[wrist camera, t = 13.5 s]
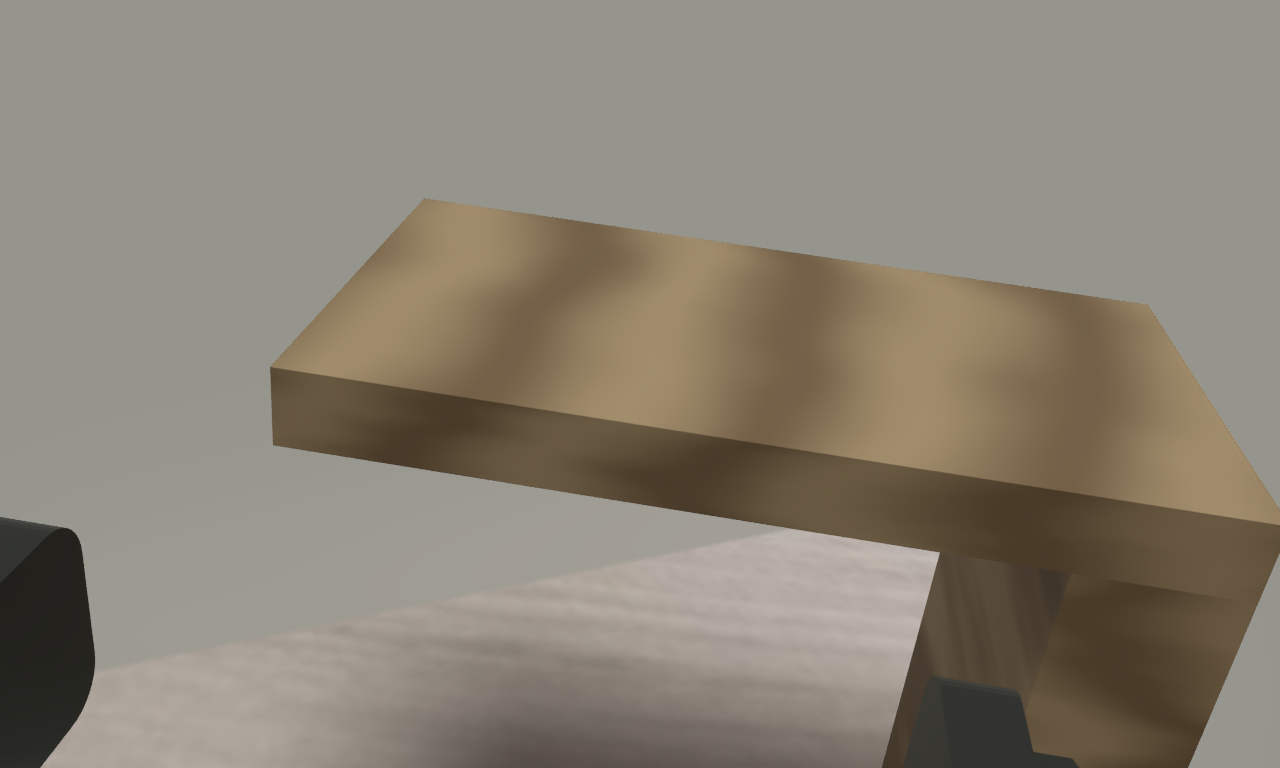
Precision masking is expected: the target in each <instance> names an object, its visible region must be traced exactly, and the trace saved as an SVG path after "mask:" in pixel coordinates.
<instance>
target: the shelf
mask: <svg viewBox="0 0 1280 768" xmlns="http://www.w3.org/2000/svg"><path fill="white" fill-rule="evenodd" d="M270 373H271V400H272V428H273V445H275V446H281V447H288V448H294V449H300V450H306V451H313V452H319V453H325V454H331V455H338V456H344V457H350V458H356V459H363V460H368V461H375V462H381V463H388V464H393V465H400V466H406V467H412V468H419V469H425V470H431V471H437V472H443V473H449V474H456V475H462V476H468V477H474V478H480V479H487V480H493V481H500V482H506V483H512V484H518V485H524V486H530V487H537V488H543V489H549V490H555V491H561V492H568V493H574V494H580V495H586V496H593V497H599V498H605V499H611V500H617V501H623V502H630V503H636V504H642V505H648V506H655V507H661V508H667V509H673V510H679V511H686V512H692V513H698V514H704V515H711V516H717V517H723V518H730V519H736V520H742V521H748V522H754V523H760V524H767V525H773V526H779V527H786V528H791V529H798V530H804V531H810V532H816V533H823V534H829V535H835V536H841V537H847V538H854V539H860V540H866V541H872V542H879V543H885V544H891V545H897V546H903V547H910V548H916V549H922V550H928V551H934V552H940V555H939V558H938V562H937V566H936V570H935V573H934V577H933V581H932V584H931V588H930V592H929V595H928V599H927V603H926V607H925V610H924V614H923V618H922V621H921V625H920V629H919V632H918V636H917V640H916V644H915V647H914V651H913V655H912V658H911V662H910V666H909V669H908V673H907V677H906V681H905V684H904V688H903V692H902V695H901V699H900V703H899V707H898V710H897V714H896V718H895V721H894V725H893V729H892V732H891V736H890V740H889V744H888V747H887V751H886V755H885V758H884V762H883V766H882V768H903V765H904V761H905V758H906V754H907V751H908V747H909V743H910V740H911V736H912V733H913V729H914V726H915V722H916V718H917V715H918V711H919V708H920V704H921V701H922V697H923V694H924V691H925V688H926V685H927V683H928V681H929V679H930V678H931V677H932V676H938V677H944V678H950V679H956V680H962V681H968V682H974V683H980V684H986V685H992V686H998V687H1004V688H1010V689H1014V690H1016V691H1017V692H1018V693H1019V695H1020V697H1021V701H1022V704H1023V709H1024V713H1025V717H1026V722H1027V726H1028V730H1029V735H1030V739H1031V743H1032V748H1033V752H1037V753H1043V754H1049V755H1055V756H1061V757H1067V758H1072V759H1073V760H1074V761H1075V763H1076V764H1077V765H1078V767H1079V768H1188V766H1189V764H1190V762H1191V759H1192V757H1193V755H1194V752H1195V750H1196V748H1197V745H1198V743H1199V741H1200V738H1201V736H1202V734H1203V731H1204V729H1205V727H1206V724H1207V722H1208V720H1209V717H1210V715H1211V713H1212V710H1213V708H1214V705H1215V703H1216V701H1217V698H1218V696H1219V694H1220V692H1221V689H1222V687H1223V684H1224V682H1225V680H1226V677H1227V675H1228V673H1229V670H1230V668H1231V666H1232V663H1233V661H1234V658H1235V656H1236V654H1237V652H1238V649H1239V647H1240V645H1241V642H1242V640H1243V637H1244V635H1245V633H1246V631H1247V628H1248V626H1249V623H1250V621H1251V619H1252V616H1253V614H1254V612H1255V609H1256V607H1257V605H1258V602H1259V600H1260V598H1261V595H1262V593H1263V591H1264V588H1265V586H1266V584H1267V581H1268V579H1269V576H1270V574H1271V572H1272V570H1273V567H1274V565H1275V562H1276V560H1277V558H1278V555H1279V553H1280V509H1279V508H1278V506H1277V505H1276V503H1275V502H1274V500H1273V498H1272V497H1271V495H1270V494H1269V492H1268V491H1267V489H1266V488H1265V486H1264V485H1263V483H1262V481H1261V480H1260V478H1259V477H1258V475H1257V474H1256V472H1255V471H1254V469H1253V468H1252V466H1251V464H1250V463H1249V461H1248V460H1247V458H1246V457H1245V455H1244V454H1243V452H1242V450H1241V449H1240V447H1239V446H1238V444H1237V443H1236V441H1235V439H1234V438H1233V437H1232V435H1231V433H1230V432H1229V430H1228V428H1227V427H1226V425H1225V424H1224V422H1223V421H1222V419H1221V418H1220V416H1219V414H1218V413H1217V411H1216V410H1215V408H1214V407H1213V405H1212V404H1211V402H1210V400H1209V399H1208V398H1207V396H1206V394H1205V393H1204V391H1203V390H1202V388H1201V387H1200V385H1199V384H1198V382H1197V380H1196V379H1195V377H1194V376H1193V374H1192V372H1191V371H1190V370H1189V368H1188V366H1187V365H1186V363H1185V362H1184V360H1183V358H1182V357H1181V355H1180V354H1179V352H1178V351H1177V349H1176V348H1175V346H1174V345H1173V343H1172V341H1171V340H1170V338H1169V337H1168V335H1167V334H1166V332H1165V330H1164V329H1163V327H1162V326H1161V324H1160V323H1159V321H1158V320H1157V318H1156V316H1155V315H1154V313H1153V312H1152V310H1151V309H1150V307H1149V306H1148V305H1146V304H1139V303H1132V302H1125V301H1119V300H1111V299H1105V298H1098V297H1091V296H1085V295H1078V294H1071V293H1064V292H1057V291H1051V290H1044V289H1037V288H1030V287H1024V286H1017V285H1010V284H1003V283H996V282H989V281H983V280H976V279H969V278H962V277H955V276H948V275H941V274H934V273H928V272H921V271H914V270H908V269H900V268H893V267H887V266H880V265H874V264H866V263H859V262H853V261H846V260H839V259H832V258H826V257H819V256H812V255H805V254H799V253H791V252H785V251H778V250H771V249H765V248H758V247H751V246H743V245H737V244H730V243H723V242H717V241H710V240H703V239H696V238H689V237H683V236H675V235H669V234H662V233H655V232H649V231H642V230H634V229H628V228H621V227H615V226H608V225H601V224H594V223H587V222H580V221H573V220H567V219H560V218H553V217H546V216H539V215H533V214H525V213H519V212H512V211H505V210H498V209H491V208H485V207H478V206H471V205H465V204H457V203H450V202H444V201H437V200H430V199H423V200H422V202H421V203H420V204H419V205H418V206H417V207H416V208H415V209H414V210H413V211H412V212H411V214H410V215H409V216H408V217H407V218H406V219H405V220H404V221H403V222H402V224H401V225H400V226H399V227H398V228H397V229H396V230H395V231H394V232H393V233H392V234H391V235H390V237H389V238H388V239H387V240H386V241H385V242H384V243H383V244H382V246H380V247H379V249H378V250H377V251H376V252H375V253H374V254H373V255H372V256H371V258H369V260H368V261H367V262H366V263H365V264H364V265H363V266H362V267H361V268H360V269H359V271H358V272H357V273H356V274H355V275H354V276H353V277H352V278H351V279H350V280H349V281H348V283H347V284H346V285H345V286H344V287H343V288H342V289H341V290H340V291H339V292H338V294H337V295H336V296H335V297H334V298H333V299H332V300H331V301H330V302H329V303H328V304H327V305H326V307H325V308H324V309H323V310H322V311H321V312H320V313H319V314H318V315H317V316H316V317H315V319H314V320H313V321H312V322H311V323H310V324H309V325H308V326H307V327H306V328H305V330H304V331H303V332H302V333H301V334H300V335H299V336H298V337H297V338H296V339H295V341H294V342H293V343H292V344H291V345H290V346H289V347H288V348H287V349H286V350H285V351H284V352H283V354H282V355H281V356H280V357H279V358H278V359H277V360H276V361H275V362H274V363H273V365H272V366H271V367H270Z"/></svg>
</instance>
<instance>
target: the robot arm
mask: <svg viewBox="0 0 1280 768" xmlns="http://www.w3.org/2000/svg"><path fill="white" fill-rule="evenodd" d="M94 669H95V651H94V643H93V635H92V627H91V619H90V611H89V603H88V595H87V587H86V579H85V571H84V563H83V555H82V549H81V544H80V541H79V539H78V537H77V535H76V534H75V533H74V532H73V531H72V530H70V529H68V528H62V527H57V526H50V525H44V524H38V523H32V522H26V521H21V520H15V519H9V518H3V517H0V768H40V767H41V766H42V765H43V763H44V762H45V761H46V760H47V758H48V757H49V756H50V754H51V753H52V752H53V751H54V749H55V748H56V747H57V745H58V744H59V743H60V741H61V740H62V739H63V738H64V736H65V735H66V734H67V732H68V731H69V730H70V729H71V727H72V726H73V725H74V723H75V722H76V720H77V719H78V717H79V715H80V714H81V712H82V710H83V708H84V705H85V703H86V701H87V698H88V695H89V692H90V689H91V686H92V681H93V677H94ZM903 768H1079V767H1078V765H1077V764H1076V763H1075V761H1074V760H1073V759H1072V758H1067V757H1061V756H1055V755H1049V754H1043V753H1037V752H1033V748H1032V743H1031V739H1030V735H1029V730H1028V726H1027V722H1026V717H1025V713H1024V709H1023V704H1022V701H1021V697H1020V695H1019V693H1018V692H1017V691H1016V690H1014V689H1010V688H1004V687H998V686H992V685H986V684H980V683H974V682H968V681H962V680H956V679H950V678H944V677H938V676H932V677H931V678H930V679H929V681H928V683H927V685H926V688H925V691H924V694H923V697H922V701H921V704H920V708H919V711H918V715H917V718H916V722H915V726H914V729H913V733H912V736H911V740H910V743H909V747H908V751H907V754H906V758H905V761H904V765H903Z"/></svg>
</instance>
